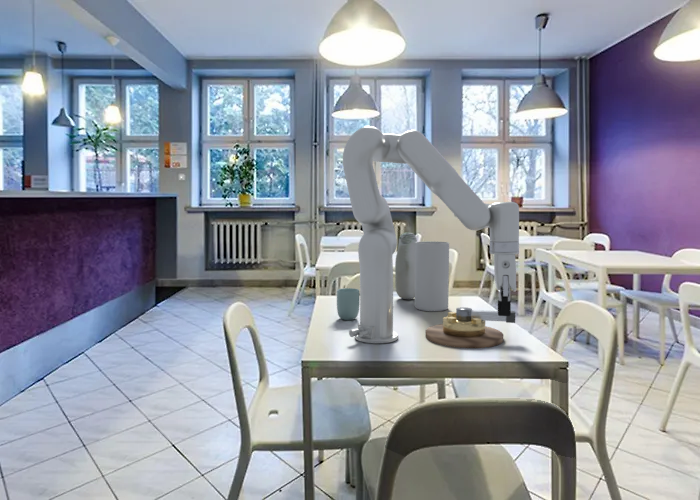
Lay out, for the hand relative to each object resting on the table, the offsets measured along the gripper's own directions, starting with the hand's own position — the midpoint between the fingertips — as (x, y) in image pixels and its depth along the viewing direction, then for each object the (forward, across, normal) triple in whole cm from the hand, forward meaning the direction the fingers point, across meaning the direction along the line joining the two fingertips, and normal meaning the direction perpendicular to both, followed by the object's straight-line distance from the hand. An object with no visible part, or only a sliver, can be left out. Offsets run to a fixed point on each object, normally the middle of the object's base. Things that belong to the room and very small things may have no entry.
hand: (504, 315), depth 128 cm
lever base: (+8, +6, +11) cm, 15 cm away
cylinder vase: (+8, +45, +23) cm, 51 cm away
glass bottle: (+8, +62, +34) cm, 71 cm away
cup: (+8, +21, +49) cm, 54 cm away
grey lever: (+6, +6, +7) cm, 11 cm away
